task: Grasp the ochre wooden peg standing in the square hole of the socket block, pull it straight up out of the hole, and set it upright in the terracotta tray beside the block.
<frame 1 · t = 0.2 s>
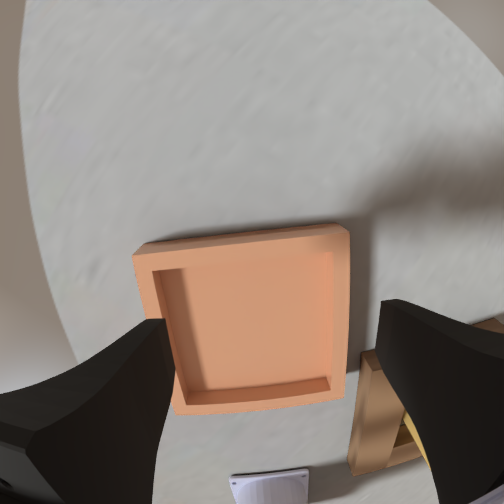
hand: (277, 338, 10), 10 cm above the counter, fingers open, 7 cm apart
tray: (249, 320, 21), on the counter
peg: (443, 427, 20), in the socket block
socket block: (422, 396, 25), on the counter
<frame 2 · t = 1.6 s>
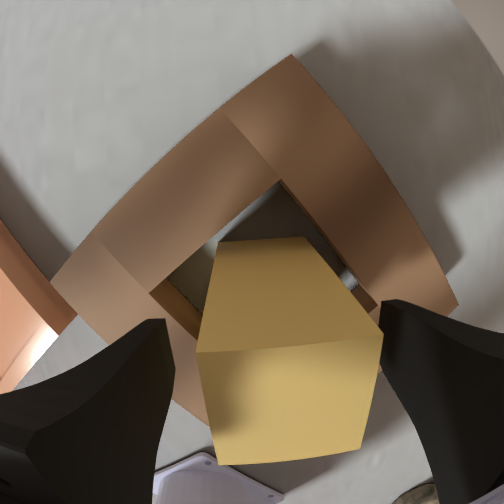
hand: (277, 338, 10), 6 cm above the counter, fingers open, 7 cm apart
peg: (273, 325, 11), in the socket block
socket block: (263, 279, 16), on the counter
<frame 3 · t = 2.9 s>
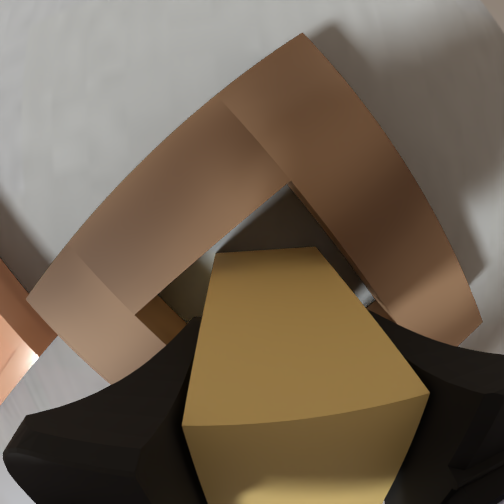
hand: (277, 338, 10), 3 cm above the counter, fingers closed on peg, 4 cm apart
peg: (281, 357, 9), in the socket block, touching gripper
socket block: (268, 296, 13), on the counter
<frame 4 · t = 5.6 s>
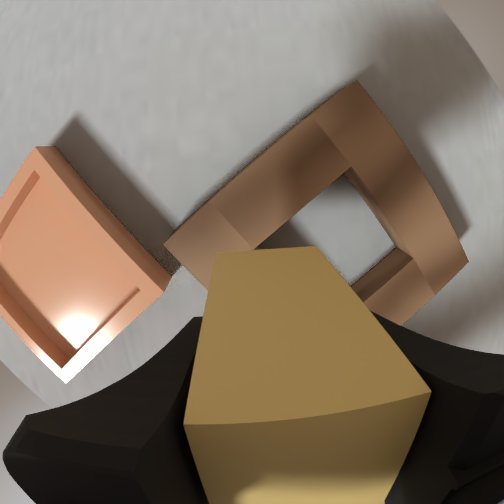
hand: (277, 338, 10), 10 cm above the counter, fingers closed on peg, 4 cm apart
tray: (59, 268, 20), on the counter
peg: (282, 356, 9), point 11 cm above the counter, touching gripper
socket block: (329, 242, 20), on the counter
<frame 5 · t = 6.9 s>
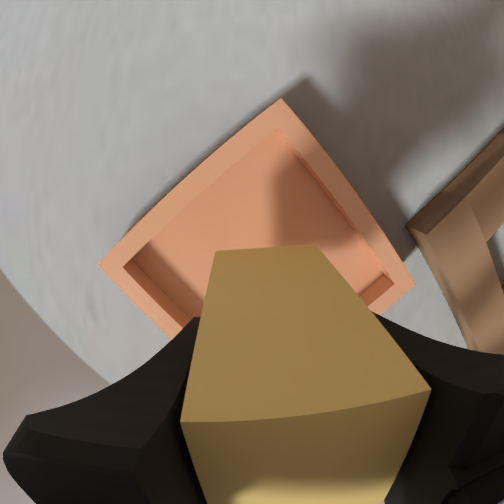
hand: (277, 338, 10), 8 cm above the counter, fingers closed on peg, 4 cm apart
tray: (260, 261, 18), on the counter
peg: (281, 354, 9), point 9 cm above the counter, touching gripper
when the fingers open (5 cm above the counter, at t = 8.2 s): peg stays where it is, resting on tray.
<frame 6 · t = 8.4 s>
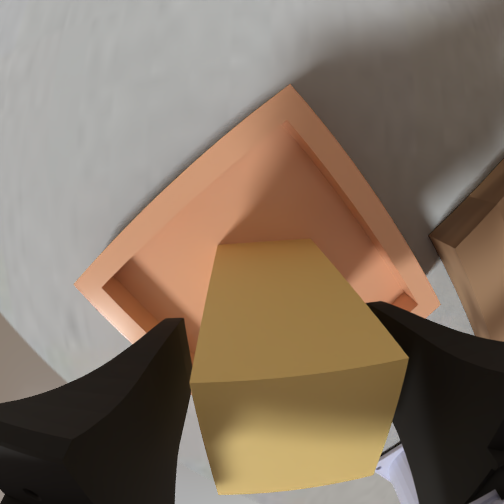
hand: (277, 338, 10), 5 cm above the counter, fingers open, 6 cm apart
tray: (264, 278, 15), on the counter
peg: (278, 338, 10), in the tray, point 6 cm above the counter
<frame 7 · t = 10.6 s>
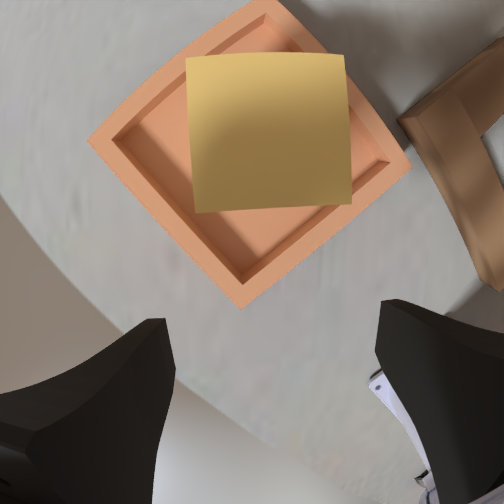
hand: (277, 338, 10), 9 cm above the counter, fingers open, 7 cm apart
tray: (251, 145, 17), on the counter
peg: (258, 138, 12), in the tray, point 6 cm above the counter
socket block: (501, 153, 17), on the counter
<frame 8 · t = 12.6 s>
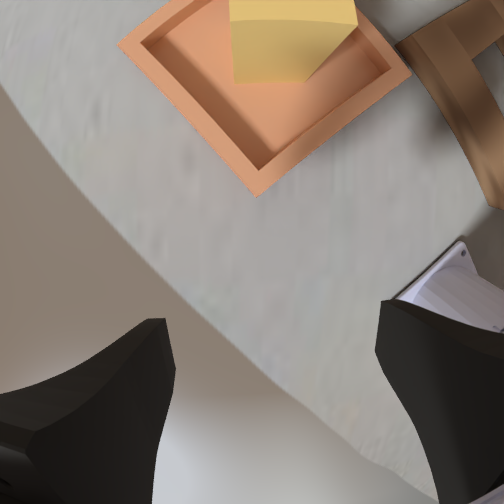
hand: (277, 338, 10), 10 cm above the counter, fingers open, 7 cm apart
tray: (265, 57, 17), on the counter
peg: (275, 21, 12), in the tray, point 6 cm above the counter
socket block: (495, 87, 17), on the counter
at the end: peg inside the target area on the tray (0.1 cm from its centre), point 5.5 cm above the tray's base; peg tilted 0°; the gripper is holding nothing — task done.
